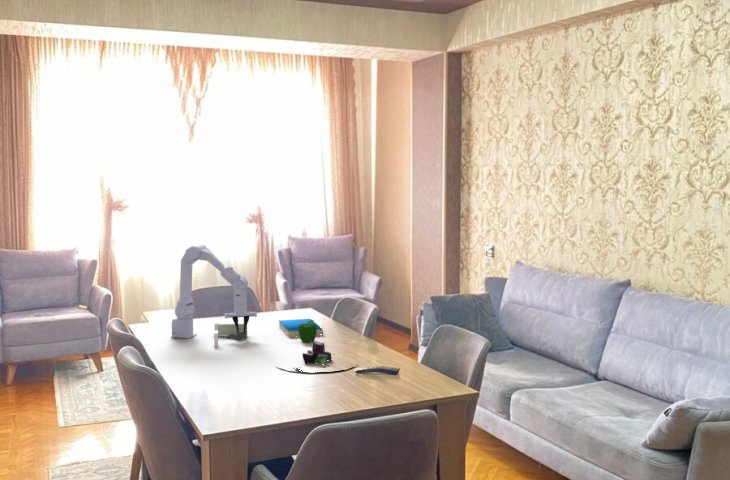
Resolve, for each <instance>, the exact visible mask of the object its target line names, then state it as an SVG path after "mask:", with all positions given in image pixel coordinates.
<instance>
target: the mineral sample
mask: <svg viewBox="0 0 730 480" xmlns="http://www.w3.org/2000/svg"><path fill="white" fill-rule="evenodd" d="M325 348H326V347H325V343H324V342H313V343H312V347H311V350H310V349H308V350H307V351H306V353H305V352H303V353H302V354H301V355H302V359H303V363H304V365H308V364H307V363H312V364H315V363H317V364H324V365H325V364H326V362H325V361H327V360H331V359H332V360H333V358H332V353H331V352H330V351H326V349H325ZM332 360H331V361H332ZM317 364H316V365H317ZM275 368H277V366H275ZM295 368H296V369H295ZM295 368H291V370H289V372H290V373H291V372H292V373H297V374H298V373H301V374H307V375H308V374H313V373H305V372H303V371H302V370H301V371H302V372H301V371H299V370H300V369H298V368H299V367H295ZM278 369H279V370H282V371H284V372H285V371H287V372H288V370H287V369H284V368H280V367H278ZM314 374H319V373H318V372H317V373H316V372H315V373H314Z"/></svg>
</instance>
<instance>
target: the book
mask: <svg viewBox="0 0 730 480" xmlns="http://www.w3.org/2000/svg"><path fill="white" fill-rule="evenodd" d="M309 320H313V319H312V318H303V319H302V318H298V319H284V320H283V319H280V320H278V322H279V325H278V326H279V328H280V330H281V329H282V330H283V331H284V332H285V333H286V334H285V333H284V332H283V331H282V330H281V331H282V332H283V333H284V334H285V335H286V336H287V337H288V338H289V337H291V338H297V337H296V336H300V335H299V326H300V324H305V323H307V322H308V321H309ZM310 324H315V325H316V327H317V333H316V335H320V334H323V335H324V331H323V328H322V327H321V326H320V325H319V324H318V323H316V322H315V321H313V322H310V323H309V325H310Z"/></svg>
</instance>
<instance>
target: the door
mask: <svg viewBox="0 0 730 480" xmlns="http://www.w3.org/2000/svg"><path fill="white" fill-rule="evenodd" d="M238 328H239V331H241V330H244V323H238ZM236 332H237V328H236V325H235V323H218V337H227V336H228V335H231V334H233V333H236ZM246 336H248V325H247V326H246Z"/></svg>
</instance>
